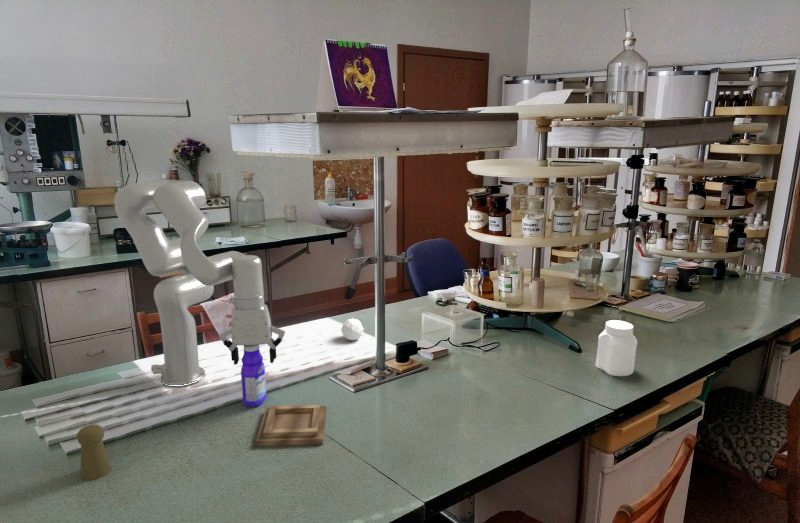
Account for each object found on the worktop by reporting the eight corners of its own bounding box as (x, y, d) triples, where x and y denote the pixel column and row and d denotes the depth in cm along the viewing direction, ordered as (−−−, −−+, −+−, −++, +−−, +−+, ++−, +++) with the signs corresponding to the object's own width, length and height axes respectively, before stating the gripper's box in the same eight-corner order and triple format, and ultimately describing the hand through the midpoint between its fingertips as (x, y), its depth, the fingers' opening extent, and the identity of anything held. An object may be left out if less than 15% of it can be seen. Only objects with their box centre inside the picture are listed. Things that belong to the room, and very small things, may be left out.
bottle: (258, 409, 154) (255, 350, 149) (239, 407, 155) (235, 348, 151) (269, 397, 161) (267, 339, 156) (251, 394, 162) (247, 338, 157)
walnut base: (256, 446, 137) (255, 436, 136) (266, 412, 152) (265, 403, 152) (322, 444, 138) (322, 434, 138) (326, 410, 154) (325, 401, 153)
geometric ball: (355, 348, 201) (355, 337, 195) (337, 337, 204) (336, 325, 197) (367, 333, 206) (367, 321, 199) (349, 322, 208) (349, 310, 202)
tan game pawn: (87, 464, 129) (81, 421, 126) (115, 463, 130) (109, 420, 127) (75, 480, 123) (68, 436, 121) (104, 479, 124) (98, 435, 121)
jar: (590, 363, 185) (594, 320, 182) (613, 359, 189) (618, 316, 185) (615, 378, 175) (620, 333, 171) (639, 373, 179) (645, 329, 175)
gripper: (213, 307, 146) (219, 369, 150) (280, 305, 147) (285, 366, 151) (219, 299, 153) (225, 357, 157) (284, 296, 155) (288, 355, 159)
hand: (254, 361), depth 154 cm, fingers open, 9 cm apart
